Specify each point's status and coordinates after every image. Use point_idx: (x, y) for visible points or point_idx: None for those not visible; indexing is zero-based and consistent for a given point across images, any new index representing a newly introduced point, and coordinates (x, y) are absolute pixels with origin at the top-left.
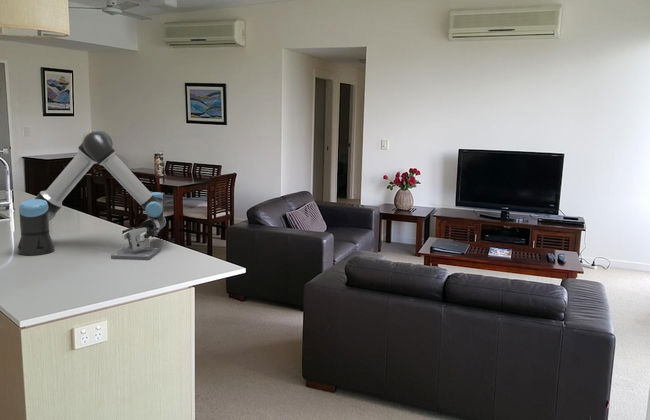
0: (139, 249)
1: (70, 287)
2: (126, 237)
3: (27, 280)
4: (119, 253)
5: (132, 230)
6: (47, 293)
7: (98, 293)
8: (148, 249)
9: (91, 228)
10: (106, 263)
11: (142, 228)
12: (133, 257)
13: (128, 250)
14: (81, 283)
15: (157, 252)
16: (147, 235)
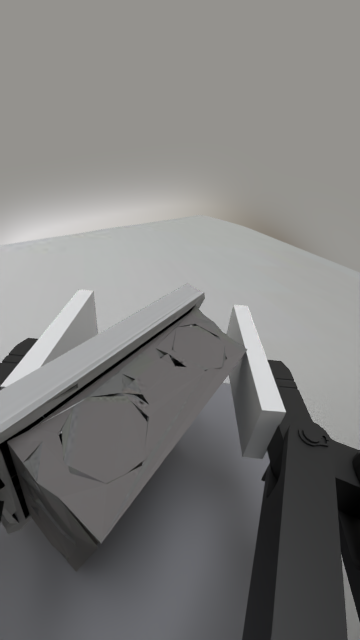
0: (135, 601)
1: (211, 246)
2: (233, 374)
3: (313, 266)
4: None
5: (172, 293)
6: (228, 239)
7: (154, 233)
8: (28, 612)
9: None
10: None
11: (49, 365)
12: None
13: (229, 532)
14: (204, 253)
15: None
16: (12, 360)
